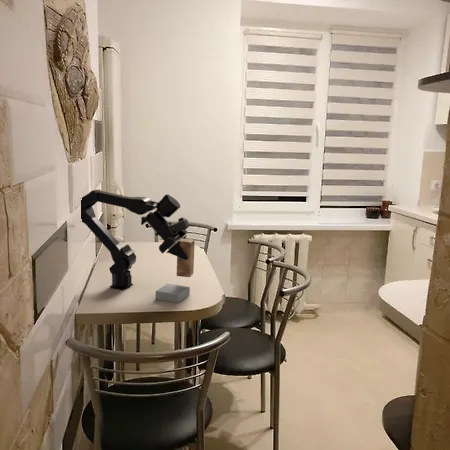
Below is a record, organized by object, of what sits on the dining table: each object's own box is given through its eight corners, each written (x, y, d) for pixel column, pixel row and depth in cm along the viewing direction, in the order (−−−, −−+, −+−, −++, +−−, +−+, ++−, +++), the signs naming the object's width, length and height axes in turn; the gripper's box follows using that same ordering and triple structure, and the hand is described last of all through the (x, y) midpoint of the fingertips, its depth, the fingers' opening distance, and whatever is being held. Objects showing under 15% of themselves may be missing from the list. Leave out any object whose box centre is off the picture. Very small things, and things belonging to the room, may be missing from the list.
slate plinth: (155, 299, 159) (155, 290, 158) (167, 291, 167) (167, 283, 166) (178, 303, 155) (178, 294, 155) (189, 294, 164) (189, 286, 163)
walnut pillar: (176, 275, 163) (177, 241, 161) (180, 272, 168) (181, 238, 166) (189, 277, 162) (191, 242, 160) (193, 273, 167) (194, 239, 165)
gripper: (168, 215, 152) (198, 249, 153) (183, 207, 170) (210, 238, 171) (146, 236, 155) (176, 269, 155) (162, 226, 173) (189, 256, 173)
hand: (189, 257), depth 164 cm, fingers closed on walnut pillar, 5 cm apart
